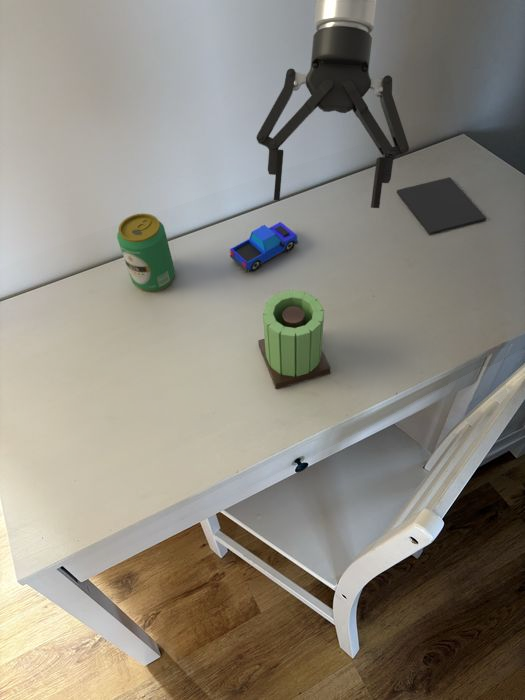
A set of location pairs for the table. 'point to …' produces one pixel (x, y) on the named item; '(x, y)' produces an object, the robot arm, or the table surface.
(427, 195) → the rubber mat
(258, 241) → the toy car
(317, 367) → the stacking stand
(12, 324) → the table surface
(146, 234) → the beverage can
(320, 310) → the green tube
